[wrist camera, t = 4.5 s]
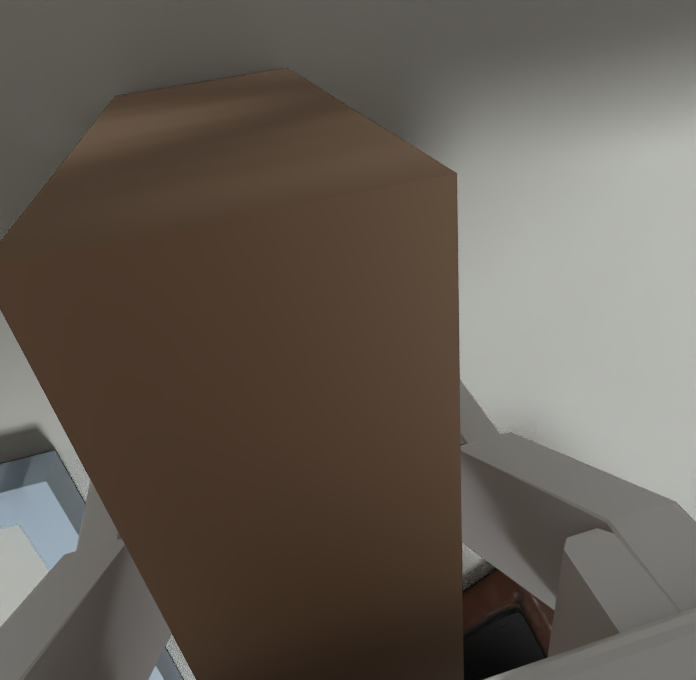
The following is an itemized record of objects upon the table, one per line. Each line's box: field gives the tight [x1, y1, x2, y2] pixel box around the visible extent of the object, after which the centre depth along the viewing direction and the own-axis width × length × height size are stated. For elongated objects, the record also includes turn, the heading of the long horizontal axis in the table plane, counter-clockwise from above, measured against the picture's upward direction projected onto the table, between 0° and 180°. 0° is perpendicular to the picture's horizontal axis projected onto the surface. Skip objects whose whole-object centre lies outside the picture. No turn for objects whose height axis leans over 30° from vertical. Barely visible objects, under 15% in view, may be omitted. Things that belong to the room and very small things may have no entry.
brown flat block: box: [0, 68, 464, 680], centre depth 8 cm, size 2×10×6 cm, turn 7°
